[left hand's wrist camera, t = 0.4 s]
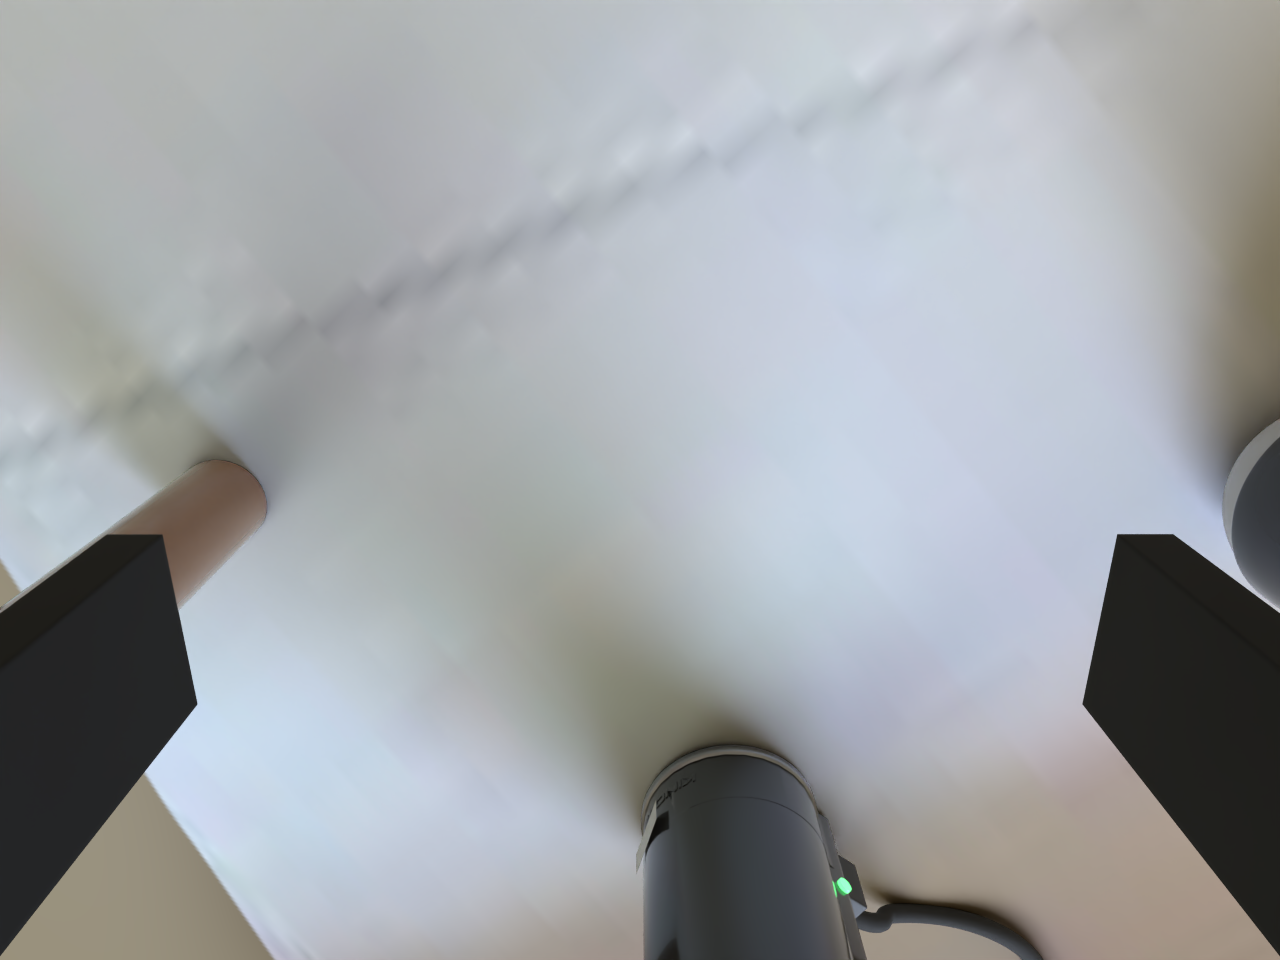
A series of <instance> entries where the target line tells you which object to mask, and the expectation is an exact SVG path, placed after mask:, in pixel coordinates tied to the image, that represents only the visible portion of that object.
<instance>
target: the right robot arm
mask: <svg viewBox="0 0 1280 960" xmlns="http://www.w3.org/2000/svg"><path fill="white" fill-rule="evenodd" d="M641 829H642V840H641V843H640V846H639V849H638V851H637V854H636V874H637V871H638V868H639V865H640V863H641V860H642V857H643V929H644V960H867V958H866V955H865V951H864V947H863V944H862V940H861V937H860V933H859V929H860V930H863V931H867V932H872V933H881V932H884V931H886V930H888V929H889V928H890V926H891V925H892V923H925V924H935V925H942V926H948V927H953V928H958V929H962V930H965V931H969V932H972V933H975V934H978V935H981V936H984V937H986V938H989V939H991V940H993V941H995V942H997V943H999V944H1001V945H1003V946H1005V947H1007V948H1008V949H1010V950H1011V951H1013V952H1014V953H1016V954H1017V955H1018V956H1019V957H1020V958H1021V959H1022V960H1043V959H1042V957H1041V956H1040V955H1039V953H1038V952H1037V951H1036V950H1035V949H1034V948H1033V947H1032V946H1031V945H1030V944H1029V943H1028V942H1027V941H1026V940H1024V939H1023V938H1022V937H1021V936H1019V935H1018V934H1016V933H1015V932H1014V931H1012V930H1010V929H1008V928H1007V927H1005V926H1003V925H1001V924H999V923H997V922H995V921H992V920H990V919H987V918H985V917H982V916H979V915H976V914H973V913H970V912H966V911H962V910H958V909H953V908H947V907H940V906H930V905H920V904H888V905H885V906H882V907H880V908H879V909H878V910H877V912H876V913H871V912H866V911H865V910H866V909H867V905H866V902H865V898H864V895H863V892H862V888H861V885H860V882H859V878H858V875H857V871H856V868H855V865H853V864H852V863H850V862H849V861H847V860H846V859H844V858H842V857H841V856H839V855H838V853H837V850H836V846H835V843H834V839H833V835H832V832H831V828H830V825H829V821H828V819H827V818H825V817H824V816H822V815H821V814H819V813H818V812H817V807H816V803H815V799H814V796H813V793H812V790H811V788H810V786H809V784H808V783H807V781H806V780H805V778H804V777H803V775H802V774H801V773H800V772H799V771H798V770H797V769H796V768H795V767H794V766H793V765H791V764H790V763H789V762H787V761H786V760H784V759H783V758H781V757H779V756H777V755H775V754H773V753H771V752H768V751H765V750H763V749H759V748H755V747H750V746H742V745H721V746H714V747H708V748H704V749H701V750H698V751H695V752H692V753H690V754H687V755H685V756H683V757H681V758H680V759H678V760H676V761H675V762H673V763H672V764H670V765H669V766H668V767H667V768H665V769H664V770H663V771H662V772H661V773H660V774H659V775H658V777H657V778H656V779H655V780H654V782H653V783H652V785H651V786H650V788H649V790H648V792H647V794H646V796H645V799H644V802H643V806H642V813H641Z"/></svg>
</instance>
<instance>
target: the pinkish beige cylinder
mask: <svg viewBox="0 0 1280 960" xmlns="http://www.w3.org/2000/svg"><path fill="white" fill-rule="evenodd" d="M266 512H267V502H266V497H265V494H264V491H263V489H262V487H261V485H260V484H259V482H258V481H257V480H256V478H255V477H254V476H253V475H252V474H251V473H250V472H248V471H247V470H246V469H244V468H242V467H241V466H239V465H237V464H234V463H231V462H228V461H222V460H209V461H204V462H201V463H199V464H196V465H195V466H193V467H192V468H190V469H189V470H188V471H186V472H185V473H183V474H182V475H181V476H179V477H178V478H177V479H175V480H174V481H172V482H171V483H170V484H168V485H167V486H166V487H164V488H163V489H162V490H160V491H159V492H157V493H156V494H155V495H153V496H152V497H151V498H149V499H148V500H146V501H145V502H144V503H142V504H141V505H140V506H138V507H137V508H136V509H134V510H133V511H131V512H130V513H129V514H127V515H126V516H125V517H123V518H122V519H121V520H119V521H118V522H116V523H115V524H114V525H112V526H111V527H110V528H108V529H107V530H105V531H104V532H103V533H101V534H100V535H99V536H97V537H96V538H95V539H93V540H92V541H90V542H89V543H88V544H86V545H85V546H84V547H82V548H81V549H80V550H78V551H77V552H75V553H74V554H73V555H71V556H70V557H69V558H67V559H66V560H64V561H63V562H62V563H60V564H59V565H58V566H56V567H55V568H54V569H52V570H51V571H49V572H48V573H47V574H45V575H44V576H43V577H41V578H40V579H38V580H37V581H36V582H34V583H33V584H32V585H30V586H29V587H28V588H26V589H25V590H23V591H22V592H21V593H19V594H18V595H17V596H15V597H14V598H13V599H11V600H10V601H8V602H7V603H6V604H4V605H3V606H2V607H0V613H1V612H3V611H4V610H5V609H7V608H8V607H9V606H11V605H12V604H13V603H15V602H16V601H17V600H19V599H20V598H22V597H23V596H24V595H26V594H27V593H28V592H30V591H31V590H32V589H34V588H35V587H36V586H38V585H39V584H40V583H42V582H43V581H44V580H46V579H47V578H49V577H50V576H51V575H53V574H54V573H55V572H57V571H58V570H59V569H61V568H62V567H63V566H65V565H66V564H67V563H69V562H70V561H72V560H73V559H74V558H76V557H77V556H78V555H80V554H81V553H82V552H84V551H85V550H86V549H88V548H89V547H90V546H92V545H93V544H94V543H96V542H97V541H99V540H100V539H101V538H103V537H104V536H105V535H107V534H163V539H164V544H165V549H166V553H167V558H168V563H169V568H170V573H171V578H172V583H173V588H174V592H175V597H176V602H177V607H178V611H179V610H180V609H181V608H182V607H183V606H184V605H185V604H186V603H187V602H188V601H189V600H190V599H191V598H192V596H193V595H194V594H195V593H196V592H197V591H198V590H199V589H200V588H201V587H202V586H203V585H204V584H205V583H206V582H207V581H208V580H209V579H210V578H211V577H212V576H213V575H214V574H215V573H216V572H217V571H218V570H219V569H220V568H221V567H222V566H223V565H224V564H225V563H226V562H227V561H228V560H229V559H230V558H231V557H232V556H233V555H234V554H235V553H236V552H237V551H238V550H239V549H240V547H241V546H242V545H243V544H244V543H245V542H246V541H247V540H248V539H249V538H250V537H251V536H252V535H253V534H254V533H255V532H256V531H257V530H258V529H259V528H260V527H261V525H262V523H263V522H264V519H265V516H266Z"/></svg>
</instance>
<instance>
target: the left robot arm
mask: <svg viewBox="0 0 1280 960" xmlns="http://www.w3.org/2000/svg"><path fill="white" fill-rule="evenodd" d="M196 705H197V699H196V695H195V690H194V685H193V680H192V675H191V670H190V665H189V661H188V656H187V651H186V646H185V641H184V636H183V631H182V626H181V622H180V617H179V612H178V607H177V602H176V597H175V592H174V588H173V583H172V578H171V573H170V568H169V563H168V558H167V553H166V549H165V544H164V539H163V534H107V535H105V536H104V537H103V538H101V539H100V540H99V541H97V542H96V543H94V544H93V545H92V546H90V547H89V548H88V549H86V550H85V551H84V552H82V553H81V554H80V555H78V556H77V557H76V558H74V559H73V560H72V561H70V562H69V563H67V564H66V565H65V566H63V567H62V568H61V569H59V570H58V571H57V572H55V573H54V574H53V575H51V576H50V577H49V578H47V579H46V580H44V581H43V582H42V583H40V584H39V585H38V586H36V587H35V588H34V589H32V590H31V591H30V592H28V593H27V594H26V595H24V596H23V597H22V598H20V599H19V600H17V601H16V602H15V603H13V604H12V605H11V606H9V607H8V608H7V609H5V610H4V611H3V612H1V613H0V956H1V954H2V953H3V952H4V950H5V949H6V948H7V947H8V945H9V944H10V943H11V941H12V940H13V939H14V938H15V936H16V935H17V934H18V933H19V931H20V930H21V929H22V928H23V926H24V925H25V924H26V922H27V921H28V920H29V919H30V917H31V916H32V915H33V913H34V912H35V911H36V910H37V908H38V907H39V906H40V905H41V903H42V902H43V901H44V899H45V898H46V897H47V896H48V894H49V893H50V892H51V891H52V889H53V888H54V887H55V885H56V884H57V883H58V882H59V880H60V879H61V878H62V876H63V875H64V874H65V873H66V871H67V870H68V869H69V867H70V866H71V865H72V864H73V862H74V861H75V860H76V859H77V857H78V856H79V855H80V853H81V852H82V851H83V850H84V848H85V847H86V846H87V845H88V843H89V842H90V841H91V839H92V838H93V837H94V836H95V834H96V833H97V832H98V830H99V829H100V828H101V827H102V825H103V824H104V823H105V822H106V820H107V819H108V818H109V817H110V815H111V814H112V813H113V811H114V810H115V809H116V807H117V806H118V805H119V804H120V802H121V801H122V800H123V799H124V797H125V796H126V795H127V794H128V792H129V791H130V790H131V788H132V787H133V786H134V785H135V783H136V782H137V781H138V780H139V778H140V777H141V776H142V774H143V773H144V772H145V771H146V769H147V768H148V767H149V765H150V764H151V763H152V762H153V760H154V759H155V758H156V757H157V755H158V754H159V753H160V751H161V750H162V749H163V748H164V746H165V745H166V744H167V743H168V741H169V740H170V739H171V737H172V736H173V735H174V734H175V732H176V731H177V730H178V728H179V727H180V726H181V725H182V723H183V722H184V721H185V720H186V718H187V717H188V716H189V714H190V713H191V712H192V711H193V709H194V708H195V707H196ZM1083 705H1084V707H1085V708H1086V709H1087V711H1088V712H1089V713H1090V714H1091V716H1092V717H1093V718H1094V720H1095V721H1096V722H1097V723H1098V725H1099V726H1100V727H1101V728H1102V730H1103V731H1104V732H1105V734H1106V735H1107V736H1108V737H1109V739H1110V740H1111V741H1112V743H1113V744H1114V745H1115V746H1116V748H1117V749H1118V750H1119V751H1120V753H1121V754H1122V755H1123V757H1124V758H1125V759H1126V760H1127V762H1128V763H1129V764H1130V765H1131V767H1132V768H1133V769H1134V771H1135V772H1136V773H1137V774H1138V776H1139V777H1140V778H1141V780H1142V781H1143V782H1144V783H1145V785H1146V786H1147V787H1148V788H1149V790H1150V791H1151V792H1152V794H1153V795H1154V796H1155V797H1156V799H1157V800H1158V801H1159V802H1160V804H1161V805H1162V806H1163V808H1164V809H1165V810H1166V811H1167V813H1168V814H1169V815H1170V817H1171V818H1172V819H1173V820H1174V822H1175V823H1176V824H1177V825H1178V827H1179V828H1180V829H1181V831H1182V832H1183V833H1184V834H1185V836H1186V837H1187V838H1188V839H1189V841H1190V842H1191V843H1192V845H1193V846H1194V847H1195V848H1196V850H1197V851H1198V852H1199V854H1200V855H1201V856H1202V857H1203V859H1204V860H1205V861H1206V862H1207V864H1208V865H1209V866H1210V868H1211V869H1212V870H1213V871H1214V873H1215V874H1216V875H1217V876H1218V878H1219V879H1220V880H1221V882H1222V883H1223V884H1224V885H1225V887H1226V888H1227V889H1228V891H1229V892H1230V893H1231V894H1232V896H1233V897H1234V898H1235V899H1236V901H1237V902H1238V903H1239V905H1240V906H1241V907H1242V908H1243V910H1244V911H1245V912H1246V913H1247V915H1248V916H1249V917H1250V919H1251V920H1252V921H1253V922H1254V924H1255V925H1256V926H1257V928H1258V929H1259V930H1260V931H1261V933H1262V934H1263V935H1264V936H1265V938H1266V939H1267V940H1268V942H1269V943H1270V944H1271V945H1272V947H1273V948H1274V949H1275V950H1276V952H1277V953H1278V954H1279V956H1280V613H1279V612H1277V611H1276V610H1275V609H1273V608H1272V607H1271V606H1269V605H1268V604H1267V603H1265V602H1264V601H1263V600H1261V599H1260V598H1258V597H1257V596H1256V595H1254V594H1253V593H1252V592H1250V591H1249V590H1248V589H1246V588H1245V587H1244V586H1242V585H1241V584H1240V583H1238V582H1237V581H1235V580H1234V579H1233V578H1231V577H1230V576H1229V575H1227V574H1226V573H1225V572H1223V571H1222V570H1221V569H1219V568H1218V567H1217V566H1215V565H1214V564H1213V563H1211V562H1210V561H1208V560H1207V559H1206V558H1204V557H1203V556H1202V555H1200V554H1199V553H1198V552H1196V551H1195V550H1194V549H1192V548H1191V547H1190V546H1188V545H1187V544H1186V543H1184V542H1183V541H1181V540H1180V539H1179V538H1177V537H1176V536H1175V535H1173V534H1117V539H1116V544H1115V549H1114V553H1113V558H1112V563H1111V568H1110V573H1109V578H1108V583H1107V588H1106V592H1105V597H1104V602H1103V607H1102V612H1101V617H1100V622H1099V626H1098V631H1097V636H1096V641H1095V646H1094V651H1093V656H1092V661H1091V665H1090V670H1089V675H1088V680H1087V685H1086V690H1085V695H1084V699H1083Z"/></svg>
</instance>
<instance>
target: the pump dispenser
mask: <svg viewBox="0 0 1280 960" xmlns="http://www.w3.org/2000/svg"><path fill="white" fill-rule="evenodd" d="M1222 515H1223V523H1224V528H1225V532H1226V536H1227V538H1228V541H1229V544H1230V546H1231V548H1232V550H1233V552H1234V555H1235V559H1236V562H1237V564H1238V566H1239V569H1240V571H1241V572H1242V574H1243V576H1244V577H1245V579H1246V580H1247V581H1248V583H1249V584H1250V585H1251V586H1252V587H1253V588H1254V589H1255V590H1256V591H1257V592H1258V593H1259V594H1260V595H1261V596H1263V597H1264V598H1265V599H1267V600H1268V601H1269V602H1271V603H1272V604H1273V605H1275V606H1276V607H1278V608H1279V609H1280V419H1278V420H1276V421H1275V422H1273V423H1272V424H1270V425H1269V426H1268V427H1266V428H1265V429H1264V430H1263V431H1261V432H1260V433H1259V434H1258V435H1257V436H1256V437H1255V438H1254V439H1253V440H1252V441H1251V442H1250V443H1249V444H1248V445H1247V446H1246V447H1245V449H1244V450H1243V451H1242V453H1241V454H1240V455H1239V457H1238V459H1237V460H1236V462H1235V464H1234V465H1233V467H1232V469H1231V471H1230V474H1229V476H1228V479H1227V482H1226V485H1225V489H1224V494H1223V503H1222Z"/></svg>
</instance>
